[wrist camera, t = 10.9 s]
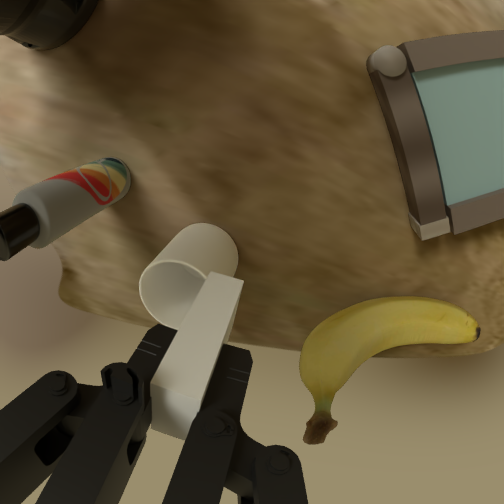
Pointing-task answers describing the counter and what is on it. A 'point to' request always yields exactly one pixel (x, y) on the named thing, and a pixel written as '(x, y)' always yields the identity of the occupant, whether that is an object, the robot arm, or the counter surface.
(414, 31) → the counter surface
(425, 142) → the folding leg
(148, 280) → the cup
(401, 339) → the banana
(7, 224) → the lotion bottle
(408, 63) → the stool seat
